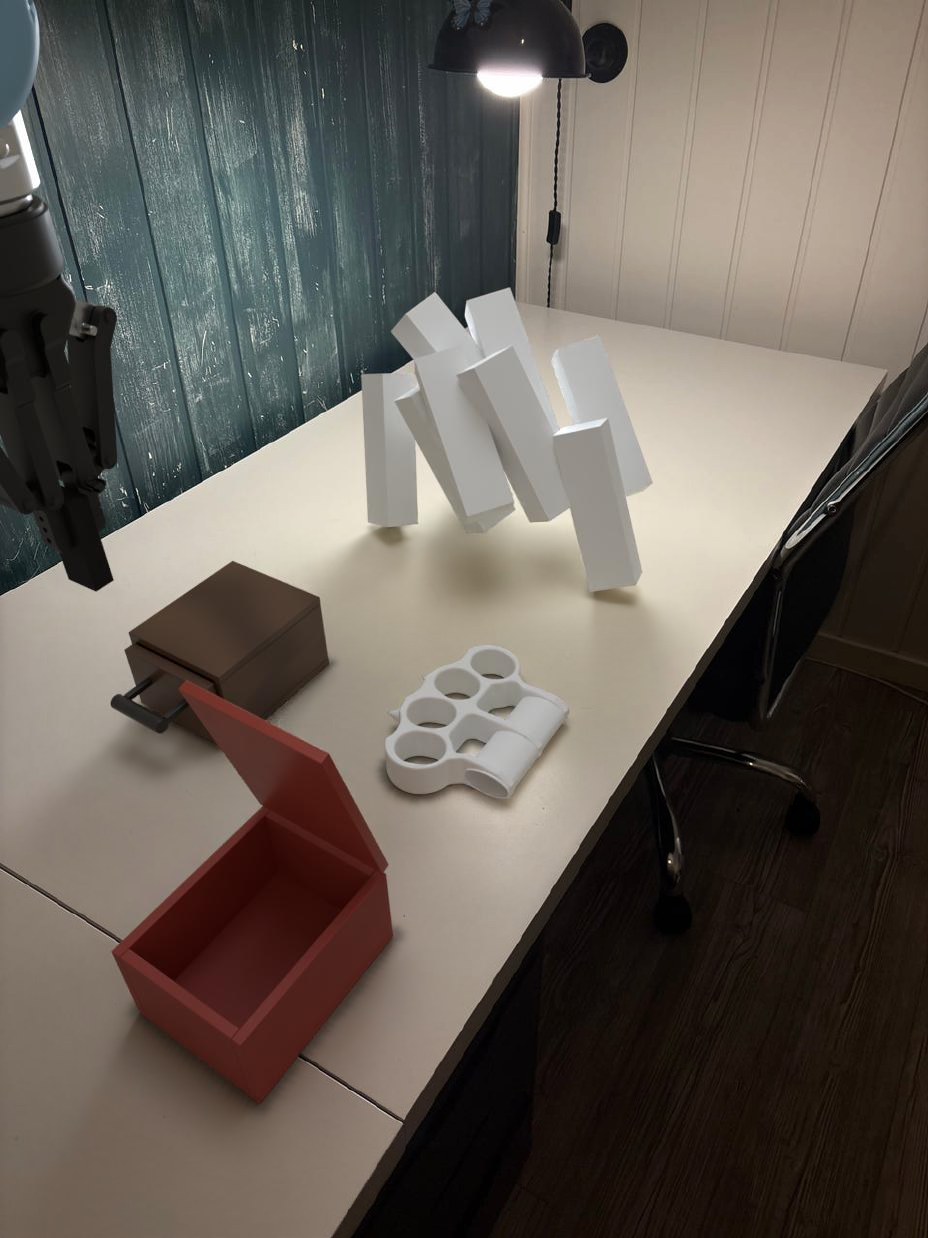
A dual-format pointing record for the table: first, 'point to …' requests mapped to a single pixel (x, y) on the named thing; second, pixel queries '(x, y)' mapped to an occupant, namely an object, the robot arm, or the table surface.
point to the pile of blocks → (505, 433)
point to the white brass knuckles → (472, 726)
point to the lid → (287, 775)
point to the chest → (257, 949)
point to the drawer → (160, 692)
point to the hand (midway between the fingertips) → (91, 579)
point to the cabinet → (242, 636)
